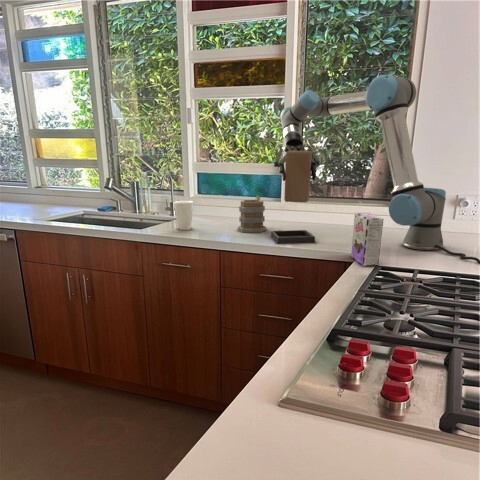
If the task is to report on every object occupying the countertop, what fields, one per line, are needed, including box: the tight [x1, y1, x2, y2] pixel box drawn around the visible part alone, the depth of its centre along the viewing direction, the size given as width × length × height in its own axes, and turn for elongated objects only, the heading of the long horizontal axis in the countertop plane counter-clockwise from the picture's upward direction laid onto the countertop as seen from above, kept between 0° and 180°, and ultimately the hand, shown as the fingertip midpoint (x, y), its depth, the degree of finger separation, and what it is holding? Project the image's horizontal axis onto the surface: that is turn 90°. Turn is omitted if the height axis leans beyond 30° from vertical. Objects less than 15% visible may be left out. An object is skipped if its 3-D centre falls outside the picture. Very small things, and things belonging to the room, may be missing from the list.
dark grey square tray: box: [270, 229, 316, 245], centre depth 203 cm, size 16×16×2 cm
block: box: [284, 151, 312, 203], centre depth 193 cm, size 10×10×20 cm
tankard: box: [237, 195, 267, 234], centre depth 225 cm, size 20×13×15 cm, turn 161°
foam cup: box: [173, 200, 194, 231], centre depth 228 cm, size 10×9×13 cm
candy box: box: [350, 211, 384, 267], centre depth 162 cm, size 14×6×16 cm, turn 4°
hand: (299, 178), depth 191 cm, fingers closed on block, 12 cm apart
